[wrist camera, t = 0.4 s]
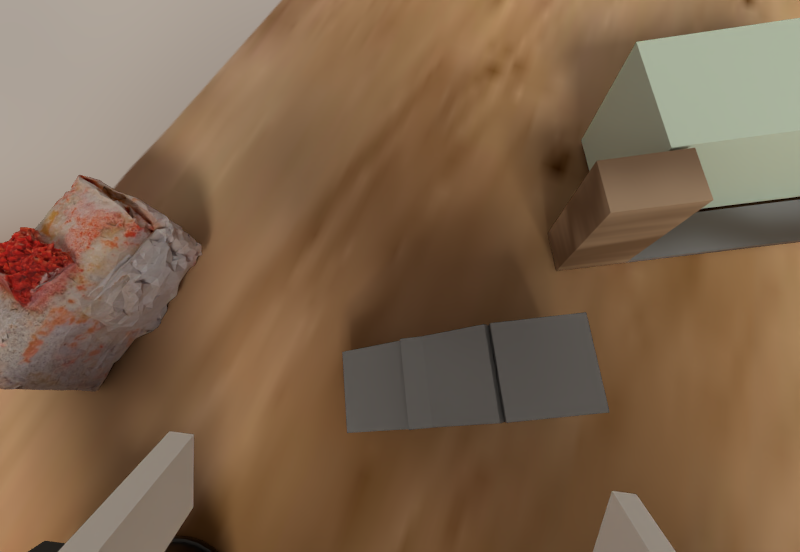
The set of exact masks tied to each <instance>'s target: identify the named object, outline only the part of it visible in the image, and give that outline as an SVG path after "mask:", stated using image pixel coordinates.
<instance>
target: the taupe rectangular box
mask: <svg viewBox="0 0 800 552" xmlns="http://www.w3.org/2000/svg"><path fill="white" fill-rule="evenodd" d="M711 201H713V197H712V194H711V191H710V188H709V186H708V183H707V180H706V177H705V174H704V171H703V169H702V166H701V163H700V160H699V157H698V154H697V152H696V149H695V148H688V149H681V150H673V151H666V152H658V153H650V154H643V155H635V156H628V157H620V158H613V159H605V160H598V161H596V162H595V164H594V165H593V167H592V168H591V170H590V171H589V173H588V174H587V176H586V177H585V179H584V180H583V182H582V183H581V185H580V186H579V188H578V189H577V191H576V192H575V194H574V195H573V196H572V198H571V199H570V201H569V202H568V204H567V205H566V207H565V208H564V210H563V211H562V213H561V214H560V216H559V217H558V219H557V220H556V222H555V223H554V225H553V226H552V228H551V229H550V231H549V232H548V236H549V241H550V245H551V250H552V254H553V259H554V264H555V268H556V271H560V270H568V269H576V268H585V267H593V266H602V265H610V264H618V263H627V262H635V261H644V260H652V259H660V258H669V257H677V256H685V255H694V254H702V253H711V252H719V251H727V250H736V249H744V248H753V247H761V246H769V245H778V244H786V243H795V242H800V199H799V200H791V201H783V202H775V203H767V204H759V205H751V206H743V207H735V208H727V209H719V210H711V211H703V212H697V211H699V210H700V209H701V208H703V207H704V206H706V205H707V204H708V203H710V202H711Z"/></svg>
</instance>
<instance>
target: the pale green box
mask: <svg viewBox="0 0 800 552" xmlns="http://www.w3.org/2000/svg"><path fill="white" fill-rule="evenodd" d="M581 141H582V145H583V149H584V153H585V156H586V160H587V164H588V168H589V171H590V170H591V168H592V167H593V165H594V164H595V162H596V161H598V160H605V159H613V158H620V157H628V156H635V155H643V154H650V153H658V152H666V151H673V150H681V149H688V148H695V149H696V152H697V154H698V157H699V160H700V163H701V166H702V169H703V171H704V174H705V177H706V180H707V183H708V186H709V188H710V191H711V194H712V197H713V201H711V202H710V203H708V204H707V205H706V206H704V207H703V208H711V207H719V206H727V205H735V204H743V203H751V202H759V201H767V200H775V199H784V198H792V197H800V18H796V19H789V20H782V21H775V22H768V23H762V24H755V25H748V26H741V27H734V28H727V29H721V30H714V31H707V32H700V33H693V34H687V35H680V36H673V37H666V38H659V39H652V40H646V41H639V42H636V43H635V45H634V47H633V49H632V50H631V52H630V54H629V56H628V58H627V59H626V61H625V63H624V65H623V67H622V68H621V70H620V72H619V74H618V75H617V77H616V79H615V81H614V83H613V84H612V86H611V88H610V90H609V91H608V93H607V95H606V97H605V99H604V100H603V102H602V104H601V106H600V108H599V109H598V111H597V113H596V115H595V116H594V118H593V120H592V122H591V124H590V125H589V127H588V129H587V131H586V133H585V134H584V136H583V138H582V140H581ZM703 208H701V209H703Z"/></svg>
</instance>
